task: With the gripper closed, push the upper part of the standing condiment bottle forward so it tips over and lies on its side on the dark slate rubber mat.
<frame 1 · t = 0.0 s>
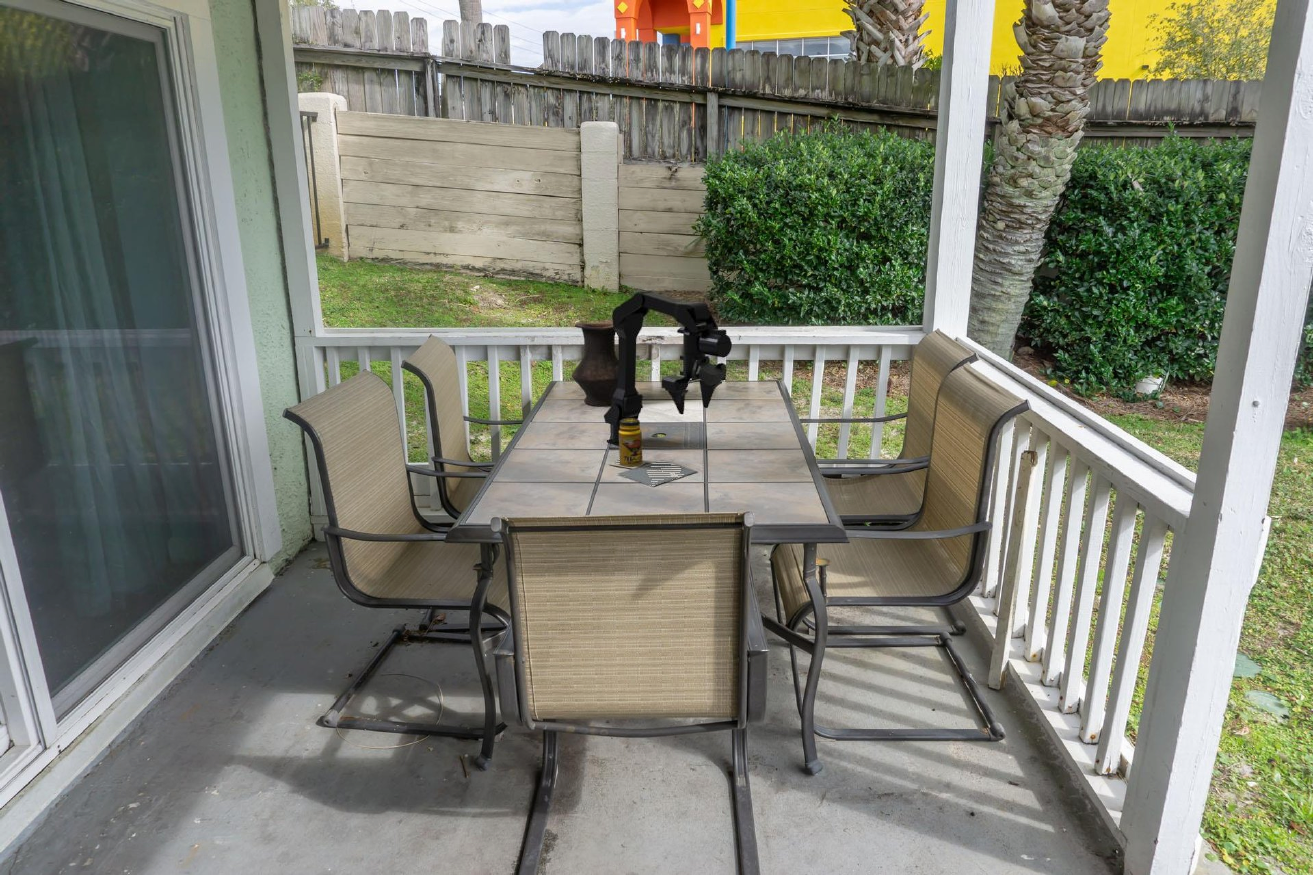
hand: (693, 410, 233), 15 cm above the table, tool pointing down, fingers open, 9 cm apart
mat: (657, 473, 230), on the table
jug: (603, 403, 300), on the table
condiment: (628, 464, 237), on the table, touching mat
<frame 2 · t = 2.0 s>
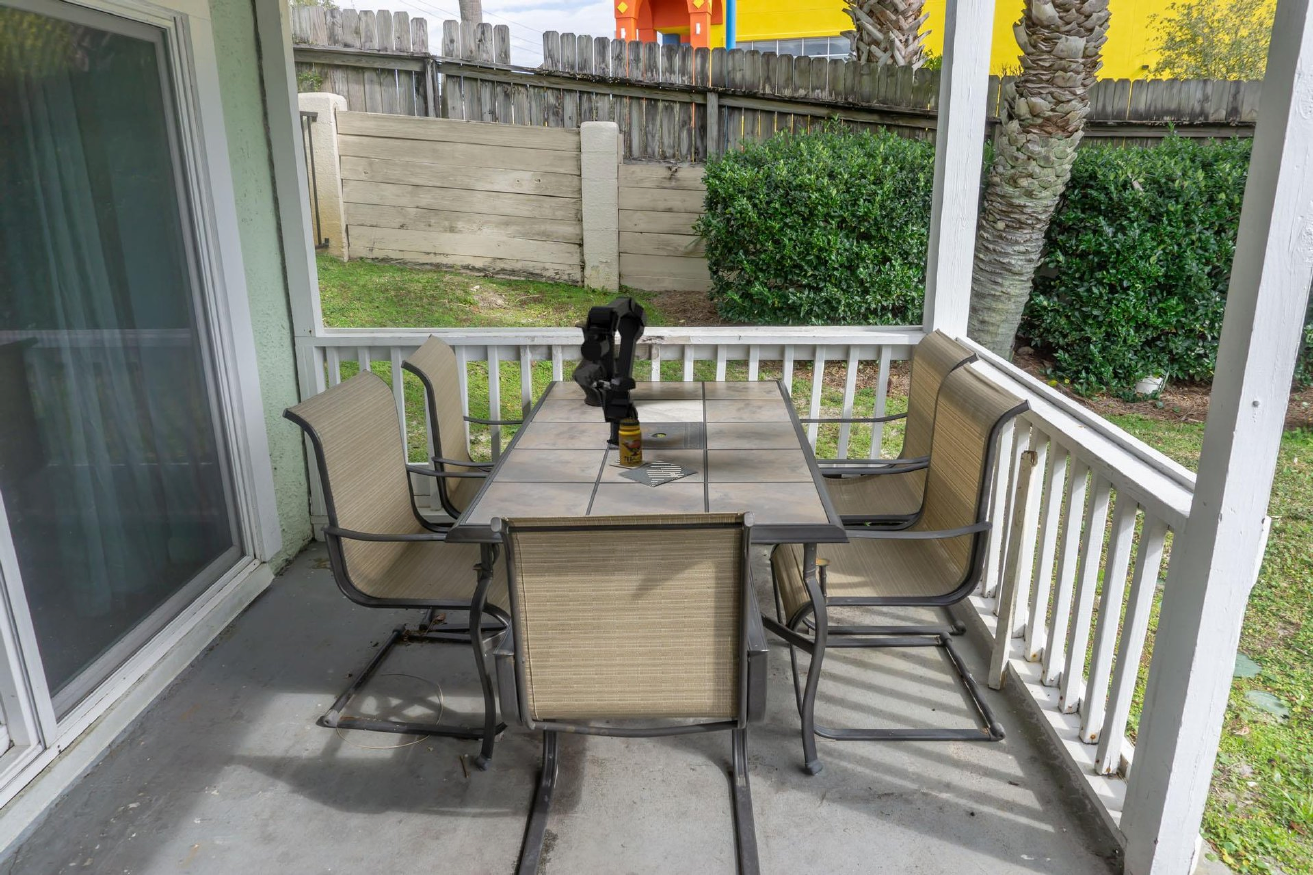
hand: (605, 410, 240), 13 cm above the table, tool pointing down, fingers closed
nothing on the table moved.
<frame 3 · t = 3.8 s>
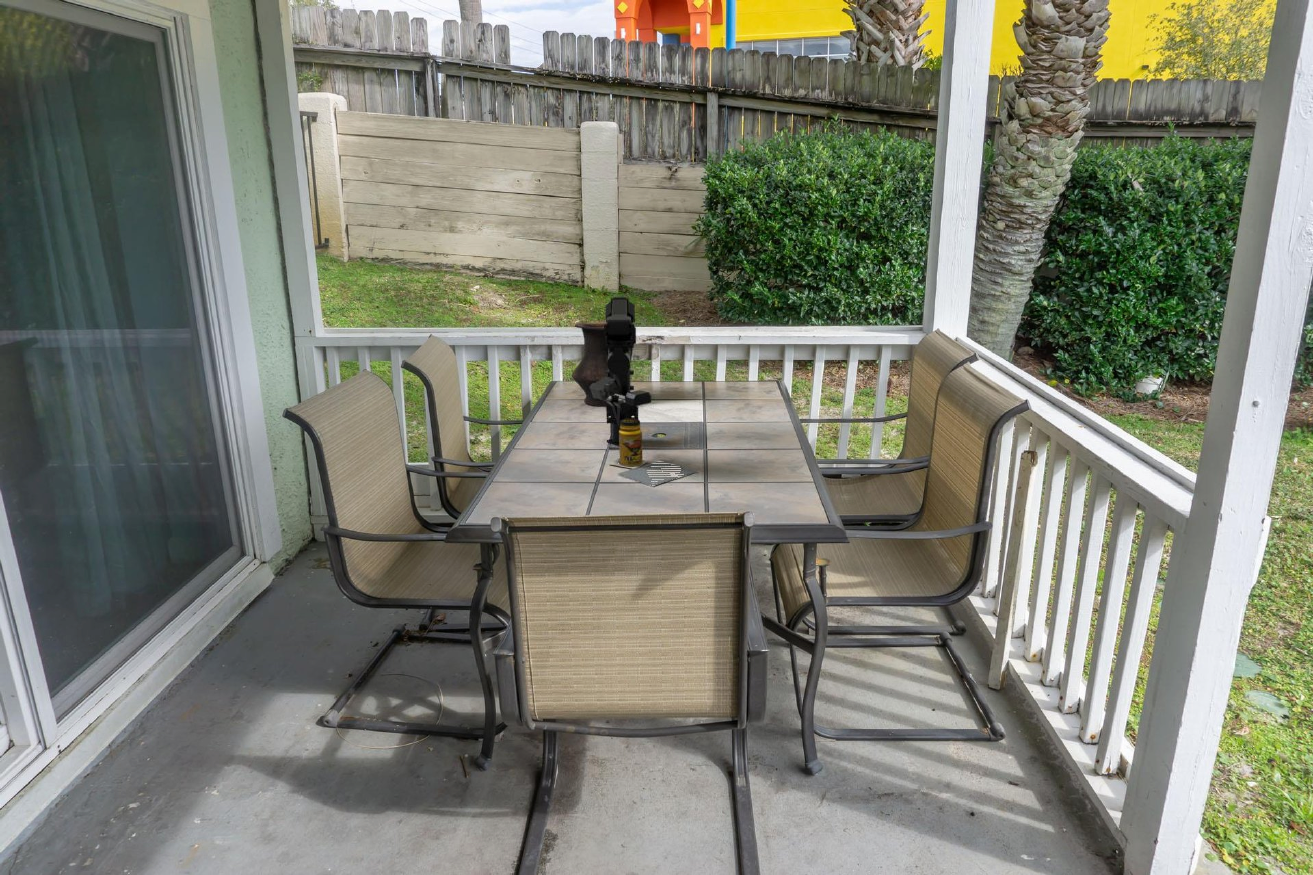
hand: (620, 424, 236), 10 cm above the table, tool pointing down, fingers closed
condiment: (628, 463, 237), on the table, touching gripper, mat
everything else where it was.
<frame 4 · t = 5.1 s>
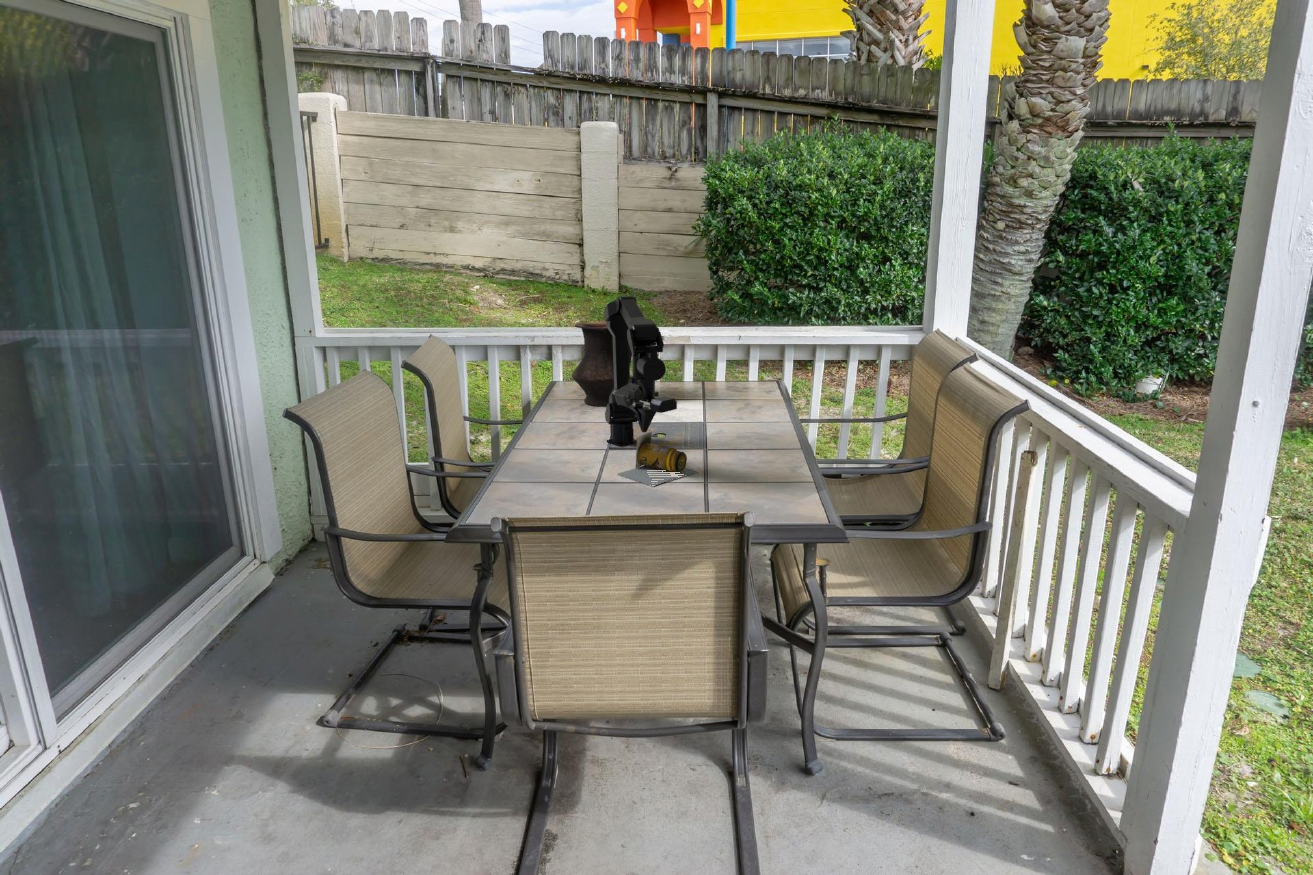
hand: (644, 432, 230), 10 cm above the table, tool pointing down, fingers closed
condiment: (642, 449, 234), point 5 cm above the table, touching mat
everything else where it was.
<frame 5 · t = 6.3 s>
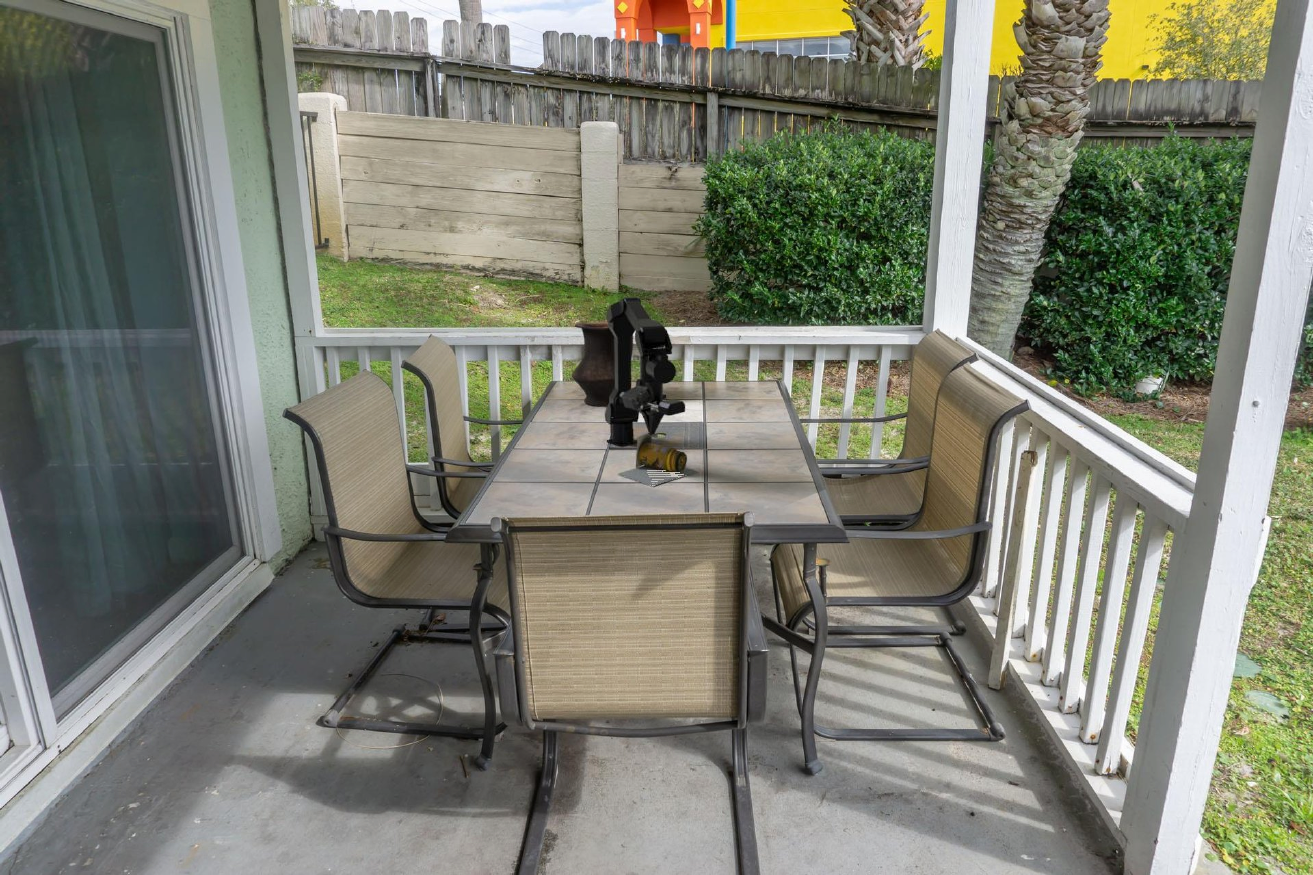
hand: (651, 434, 228), 10 cm above the table, tool pointing down, fingers closed
nothing on the table moved.
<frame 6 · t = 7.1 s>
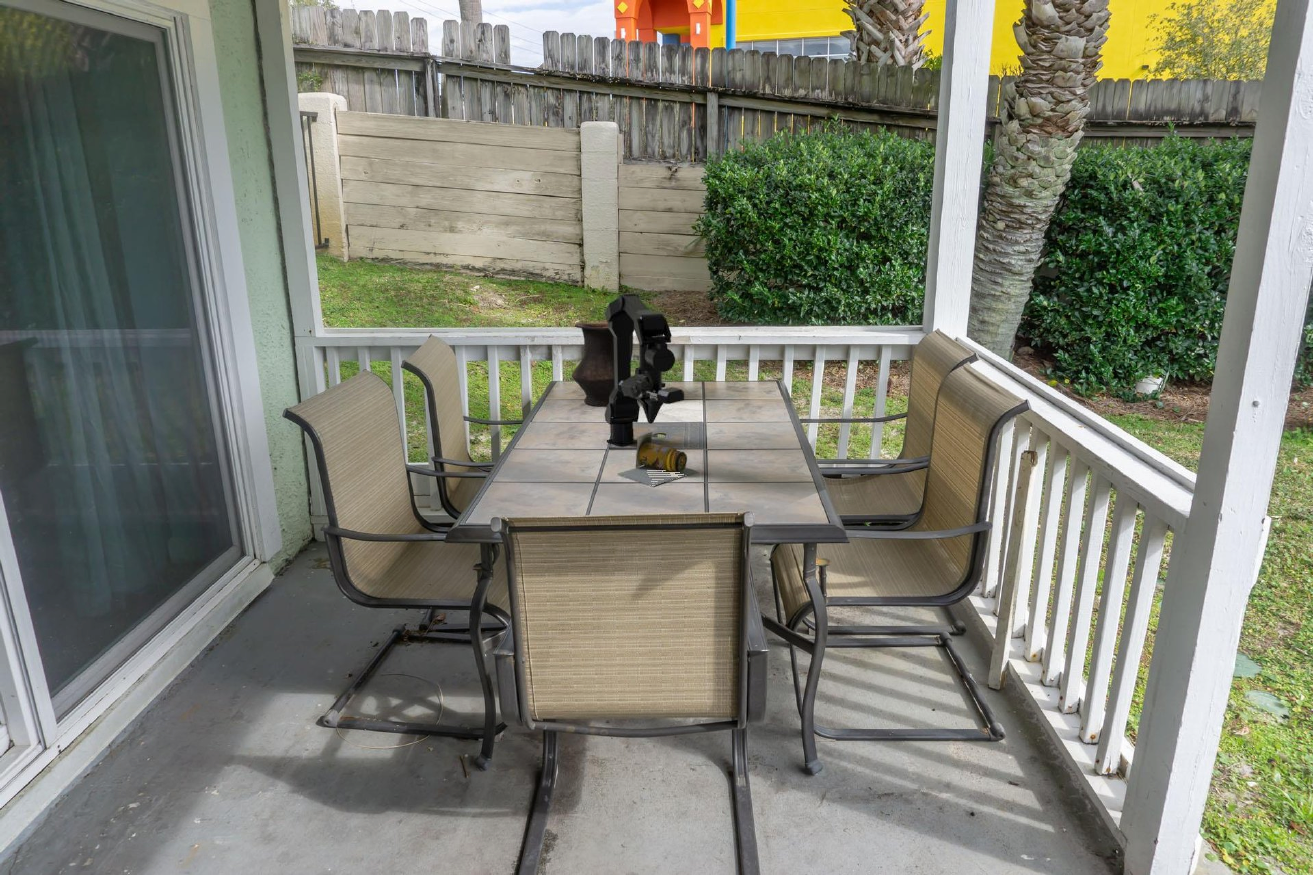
hand: (650, 423, 229), 13 cm above the table, tool pointing down, fingers closed
nothing on the table moved.
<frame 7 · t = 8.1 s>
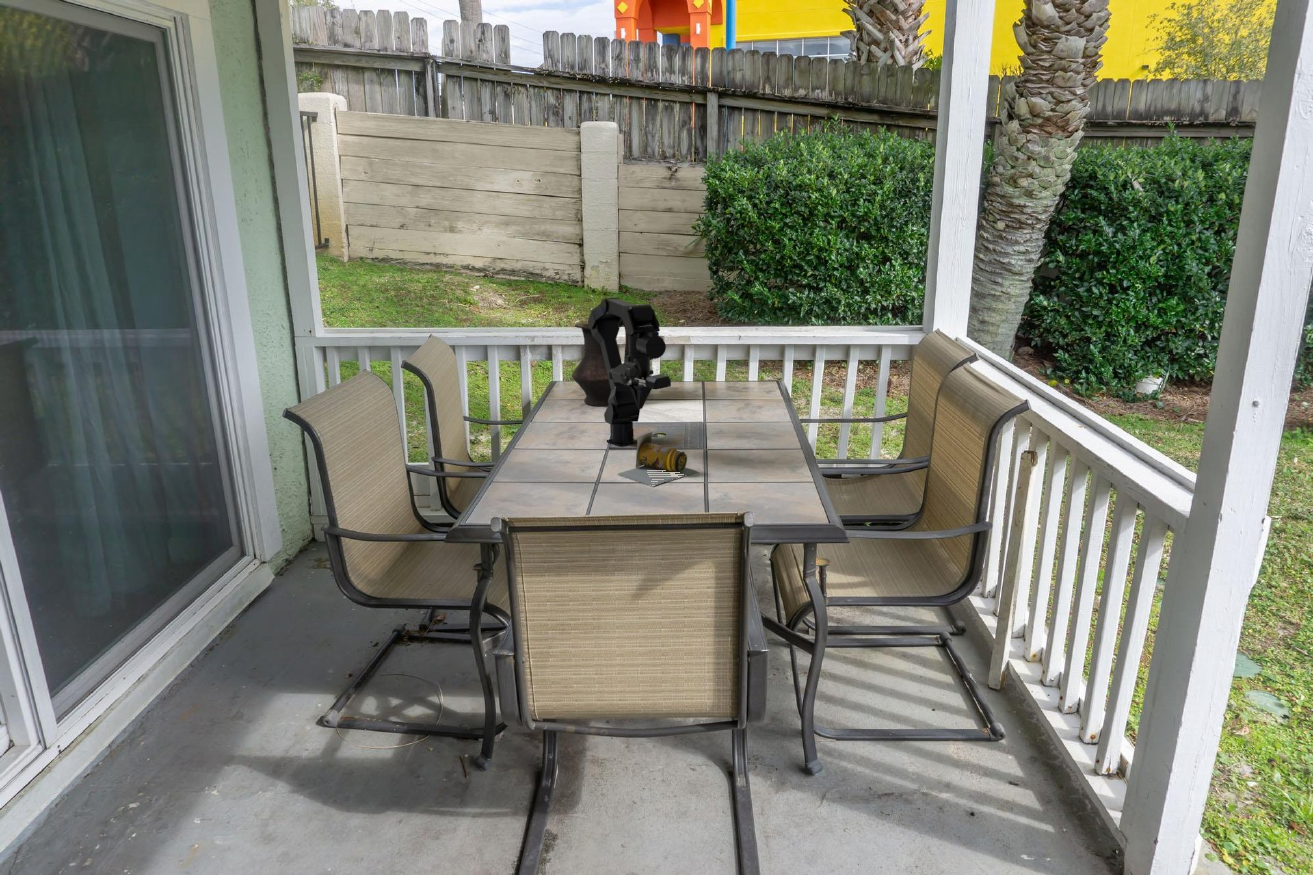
hand: (639, 408, 242), 13 cm above the table, tool pointing down, fingers closed
nothing on the table moved.
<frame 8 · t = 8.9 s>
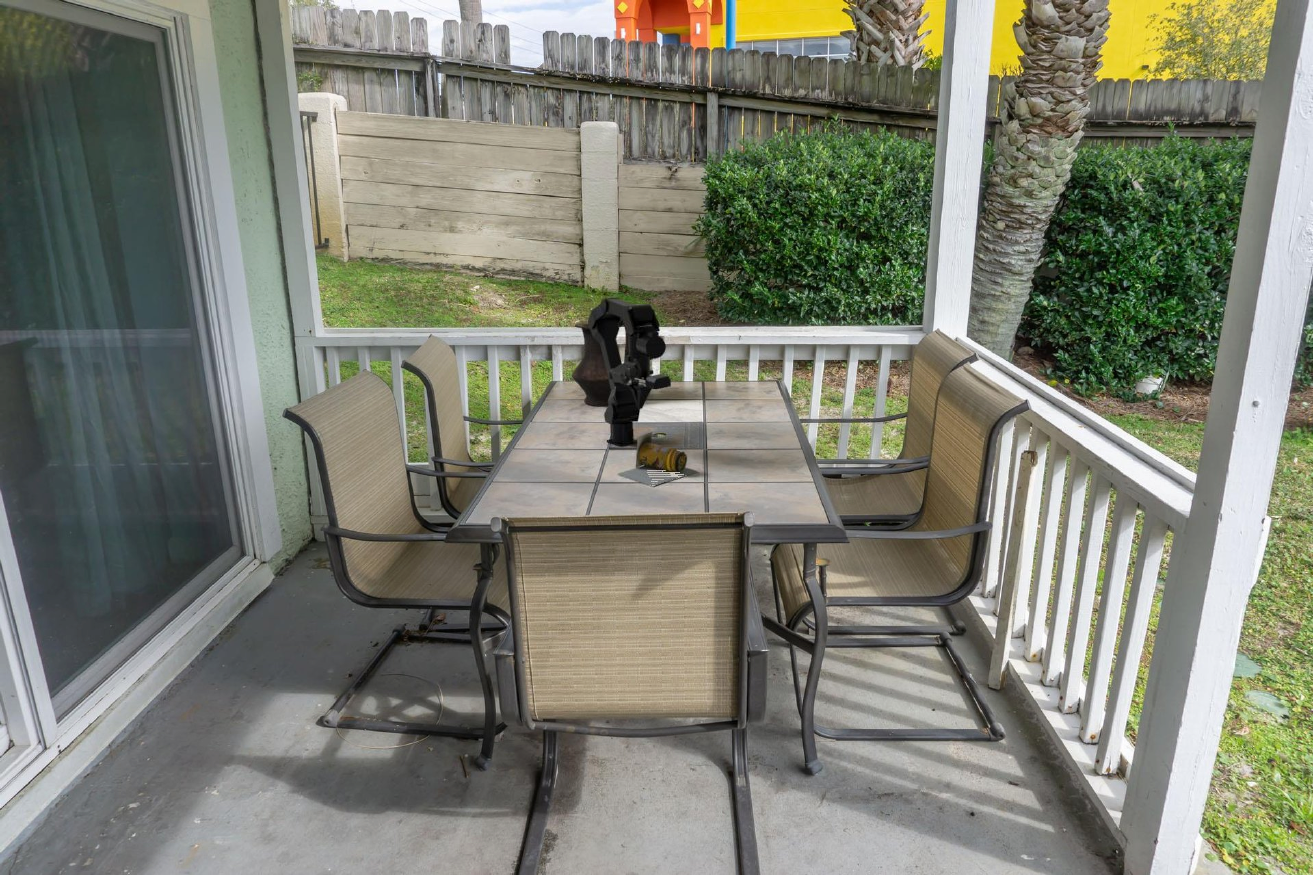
hand: (639, 408, 242), 13 cm above the table, tool pointing down, fingers closed
nothing on the table moved.
at the end: condiment tilted 93°; condiment touching mat; the gripper is holding nothing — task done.
